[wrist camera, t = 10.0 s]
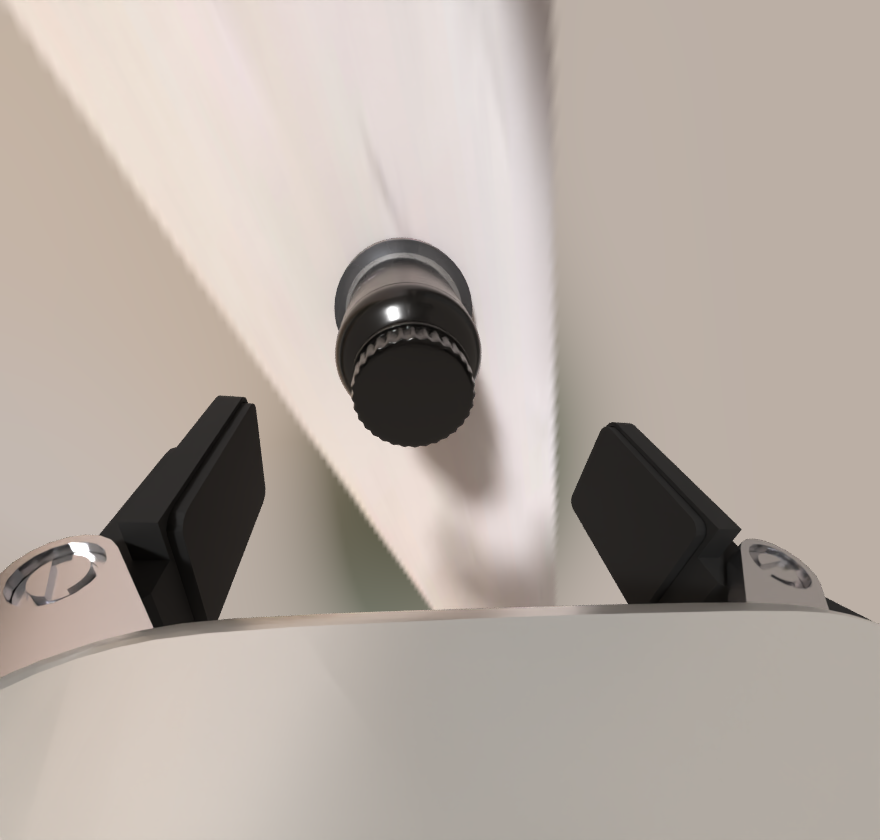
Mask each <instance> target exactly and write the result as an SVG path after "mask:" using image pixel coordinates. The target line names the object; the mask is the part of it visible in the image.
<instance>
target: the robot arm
mask: <svg viewBox="0 0 880 840" xmlns="http://www.w3.org/2000/svg"><path fill="white" fill-rule="evenodd" d="M264 497H265V482H264V473H263V464H262V456H261V447H260V439H259V431H258V422H257V415H256V407H255V405H254V404H250V403H248V402H247V400H246V398H245V397H234V396H218V397H216V398H215V400H214V401H213V402H212V403H211V405H210V406H209V407H208V409H207V410H206V411H205V412H204V414H203V415H202V416H201V417H200V419H199V420H198V421H197V422H196V424H195V425H194V426H193V427H192V429H191V430H190V431H189V432H188V434H187V435H186V436H185V438H184V439H183V440H182V441H181V443H180V444H179V445H178V446H177V447H175V448H172V449H170V450H169V451H168V452H167V453H166V454H165V455H164V456H163V458H162V459H161V460H160V461H159V463H158V464H157V465H156V466H155V467H154V469H153V470H152V471H151V472H150V474H149V475H148V476H147V477H146V478H145V480H144V481H143V482H142V483H141V485H140V486H139V487H138V488H137V489H136V491H135V492H134V493H133V494H132V495H131V497H130V498H129V499H128V500H127V502H126V503H125V504H124V505H123V507H122V508H121V509H120V510H119V511H118V513H117V514H116V515H115V516H114V518H113V519H112V520H111V521H110V523H109V524H108V525H107V526H106V527H105V529H104V530H103V531H102V532H101V533H100V535H80V536H72V537H67V538H63V539H60V540H57V541H53V542H50V543H47V544H45V545H43V546H41V547H39V548H36V549H34V550H32V551H30V552H28V553H27V554H25V555H24V556H22V557H20V558H19V559H17V560H16V561H14V562H13V563H12V564H10V565H9V566H8V567H7V568H6V569H5V570H4V571H3V572H1V573H0V840H880V624H879V623H876V622H873V621H871V620H869V619H867V618H865V617H863V616H861V615H859V614H857V613H855V612H853V611H851V610H849V609H847V608H845V607H843V606H841V605H839V604H837V603H835V602H833V601H831V600H829V599H828V598H826V597H825V596H824V593H823V590H822V587H821V584H820V582H819V580H818V578H817V576H816V575H815V574H814V573H813V572H812V571H811V570H810V568H809V567H808V566H807V565H805V564H804V563H803V562H802V561H801V560H799V559H798V558H797V557H795V556H794V555H792V554H791V553H789V552H788V551H786V550H784V549H782V548H780V547H778V546H776V545H774V544H771V543H769V542H766V541H763V540H758V539H746V540H745V541H743V542H742V543H741V544H740V545H739V546H737V545H736V544H735V543H734V542H733V539H734V538H735V537H736V536H737V534H738V533H739V532H740V531H741V528H740V527H739V526H737V524H735V522H733V521H732V520H731V519H730V518H729V517H728V516H727V515H726V514H725V513H724V512H723V511H722V510H721V509H720V508H719V507H718V506H717V505H716V504H715V503H714V502H713V501H711V499H710V498H709V497H708V496H706V495H705V494H704V493H703V492H702V491H701V490H700V489H699V488H698V487H697V486H696V485H695V484H694V483H693V482H692V481H691V480H690V479H689V478H688V477H687V476H686V475H685V474H684V473H683V472H682V471H681V470H680V469H679V468H678V467H677V466H676V465H675V464H674V463H673V462H671V461H670V460H669V459H668V458H667V457H666V456H665V455H664V454H663V453H662V452H661V451H660V450H659V449H658V448H657V447H656V446H655V445H654V444H653V443H652V442H651V441H650V440H649V439H648V438H647V437H646V436H645V435H644V434H643V433H642V432H640V430H638V429H637V428H636V427H635V426H634V425H633V424H630V423H615V422H612V423H609V424H608V425H607V426H606V427H604V428H603V429H602V430H601V431H600V433H599V436H598V438H597V440H596V442H595V445H594V447H593V449H592V452H591V454H590V456H589V459H588V461H587V463H586V465H585V468H584V470H583V472H582V474H581V477H580V479H579V481H578V483H577V486H576V488H575V490H574V493H573V495H572V499H571V503H572V507H573V509H574V511H575V513H576V515H577V516H578V518H579V520H580V522H581V523H582V525H583V527H584V529H585V530H586V532H587V534H588V536H589V537H590V539H591V541H592V542H593V544H594V546H595V548H596V549H597V551H598V553H599V555H600V556H601V558H602V560H603V561H604V563H605V565H606V567H607V568H608V570H609V572H610V574H611V575H612V577H613V579H614V580H615V582H616V583H617V586H618V587H619V589H620V591H621V593H622V594H623V596H624V598H625V599H626V601H627V603H628V604H618V605H582V606H581V605H579V606H543V607H510V608H477V609H446V610H418V611H389V612H362V613H361V612H360V613H332V614H311V615H291V616H273V617H253V618H234V619H224V620H218V618H219V616H220V613H221V610H222V608H223V605H224V603H225V600H226V597H227V595H228V592H229V590H230V587H231V584H232V582H233V579H234V577H235V574H236V572H237V569H238V566H239V564H240V561H241V558H242V556H243V553H244V551H245V548H246V546H247V543H248V540H249V537H250V535H251V533H252V530H253V527H254V525H255V522H256V520H257V517H258V514H259V512H260V509H261V507H262V504H263V501H264Z"/></svg>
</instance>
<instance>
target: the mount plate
mask: <svg viewBox="0 0 880 840" xmlns="http://www.w3.org/2000/svg"><path fill="white" fill-rule="evenodd" d="M399 257H406V258H413V259H417V260H420V261H423V262H425V263H427V264H429V265H431V266H432V267H434V268H435V269H436V270H438V271H439V272H440V273H441V274H442V275H443V276H444V278H445V279H446V280H447V281H448V283H449V284H450V286H451V287H452V289H453V290H454V292H455V293H456V295H457V296H458V298H459V299H460V301H461V302H462V304H463V305H464V307H465V309H466V310H467V312H468V313H469V315H470V316H471V318H472V301H471V295H470V291H469V287H468V285H467V283H466V280H465V278H464V276H463V275H462V273H461V271H460V270H459V268H458V267H457V266H456V265H455V263H454V262H453V261H452V260H451V259H450V258H449V257H448V256H447V255H445V254H444V253H443V252H442V251H440V250H439V249H438V248H436V247H434V246H432V245H431V244H429V243H426V242H423V241H421V240H417V239H412V238H391V239H386V240H382V241H380V242H377V243H374V244H372V245H371V246H369V247H367V248H366V249H364V250H363V251H362V252H360V253H359V254H358V255H357V256H356V257H355V258H354V259H353V260H352V261H351V263H350V264H349V265H348V267H347V268H346V270H345V272H344V274H343V276H342V278H341V280H340V282H339V285H338V288H337V292H336V297H335V319H336V324H337V327H338V330H339V329H340V326H341V323H342V320H343V317H344V315H345V312H346V309H347V306H348V303H349V301H350V298H351V295H352V293H353V290H354V288H355V286H356V284H357V283H358V281H359V279H360V278H361V277H362V276H363V275H364V274H365V273H366V272H367V271H368V270H369V269H370V268H371V267H373V266H374V265H376V264H378V263H380V262H382V261H384V260H387V259H391V258H399Z"/></svg>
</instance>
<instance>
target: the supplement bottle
mask: <svg viewBox="0 0 880 840" xmlns="http://www.w3.org/2000/svg"><path fill="white" fill-rule="evenodd" d="M335 359H336V367H337V371H338V374H339V377H340V380H341V382H342V384H343V386H344V388H345V389H346V391H347V392H348V394H349V395H350V396H351V398H352V400H353V402H354V410H355V411H356V412H357V413H358V419H359V420H360V421H361V422H363V423H364V426H365V428H366V429H368V430H370V431H371V433H372V434H373V435H374V436H377V437H379V438H380V439H381V440H382V441H387V442H390V443H391V444H393V445H400V446H403V447H407V446H411V447H418V446H427V445H429V444H431V443H437V442H439V441H440V440H441V439H445V438H447V437H448V436H449V435H450V434H452V433H454V432H456V430H457V428H458V427H459V426H461V425H463V423H464V420H465V419H466V418H467V417H468V416H469V414H470V409H471V408H472V407H473V399H474V397H475V391H474V386H475V381H476V379H477V376H478V373H479V369H480V364H481V343H480V338H479V334H478V331H477V329H476V326H475V324H474V322H473V320H472V318H471V316H470V315H469V313H468V312H467V310H466V309H465V307H464V305H463V304H462V302H461V301H460V299H459V298H458V296H457V295H456V293H455V292H454V290H453V289H452V287H451V286H450V284H449V283H448V281H447V280H446V279H445V278H444V276H443V275H442V274H441V273H440V272H439V271H438V270H436V269H435V268H434V267H432V266H431V265H429V264H427V263H425V262H423V261H420V260H417V259H413V258H406V257H399V258H391V259H387V260H384V261H382V262H380V263H378V264H376V265H374V266H373V267H371V268H370V269H369V270H368V271H367V272H366V273H365V274H364V275H363V276H362V277H361V278H360V279H359V281H358V283H357V284H356V286H355V288H354V290H353V293H352V295H351V298H350V301H349V303H348V306H347V309H346V312H345V315H344V317H343V320H342V323H341V326H340V329H339V332H338V336H337V341H336V348H335Z"/></svg>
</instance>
